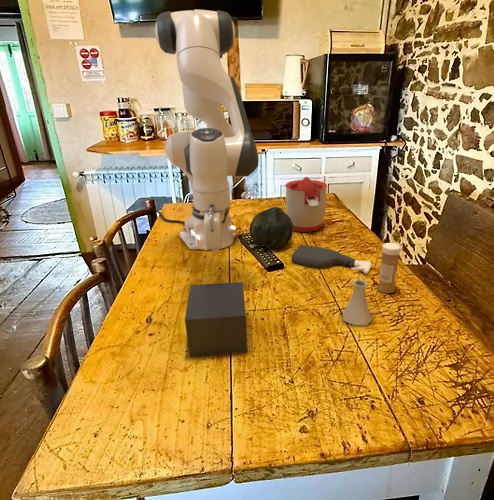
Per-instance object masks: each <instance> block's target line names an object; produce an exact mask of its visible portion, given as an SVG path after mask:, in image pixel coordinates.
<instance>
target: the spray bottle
mask: <svg viewBox="0 0 494 500" xmlns="http://www.w3.org/2000/svg"><path fill="white" fill-rule="evenodd" d="M291 262H293V263H294V264H297V265H300V266H306V267H310V268H315V269H316V268H317V269H326V268H331V267H333V266H335V265H340V266H345V267H350V270H352V271H362V272H363V274H364V275H367V274H368V273H369V272H370V270H371V268H372V262H371V261H370V260H358V259H355V258H353V257H351V256H349V255H346V254H343V253H341V252H339V251H336V250H333V249H330V248H325V247H320V246H315V245H308V244H300V245H299V246H298V247H297V248H296V249H295V250H294V251H293V252H292V254H291Z"/></svg>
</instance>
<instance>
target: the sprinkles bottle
mask: <svg viewBox="0 0 494 500" xmlns="http://www.w3.org/2000/svg"><path fill="white" fill-rule="evenodd" d="M381 247H382V249H381V254H382V255H381V261H380V270H379V282H378V287H377V289H378V290H379V292H381V293H384V294H392V293H394V292H395V291H396V281H397V274H398V266H399V264H398V263H399V257H400V254H401V246H400V245H399V244H398V243H394V242H385V243H383V244H382V246H381Z"/></svg>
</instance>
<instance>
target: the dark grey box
mask: <svg viewBox="0 0 494 500" xmlns="http://www.w3.org/2000/svg"><path fill="white" fill-rule="evenodd" d="M244 290H245V289H244V281H232V282H231V281H230V282H218V283H217V282H214V283H199V284H189V291H188V297H187V304H186V311H185V315H184V316H185V317H184V323H185V324H184V325H185V332H186V338H187V339H186V342H187V349H188V356H189V358H192V357H193V358H194V357H203V356H204V357H205V356H217V355H229V354H239V353H240V354H241V353H248V351H249V350H248V333H247V332H248V330H247V329H248V328H247V313H246V301H245V292H244Z"/></svg>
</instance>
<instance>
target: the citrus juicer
mask: <svg viewBox="0 0 494 500" xmlns="http://www.w3.org/2000/svg"><path fill="white" fill-rule="evenodd" d="M284 187H285V211H286V212H285V213H286V214H287V215H288V216H289V217H290V219H291V221H292V224H293V231H297V232H299V233H301V232H304V233H306V232H307V233H308V232H309V233H310V232H315V231H318V230H319V229H320V228H321V226H322V224H323V221H324V218H325V214H326V208H327V207H326V205H327V204H326V203H327V188H328V184H327V183H326V182H324V181H321V180H317V179H316V180H315V179H310V178H309V177H308V176H305V177H303V178H302V179H296V180H291V181H288V182H286V183H285V186H284Z"/></svg>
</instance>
